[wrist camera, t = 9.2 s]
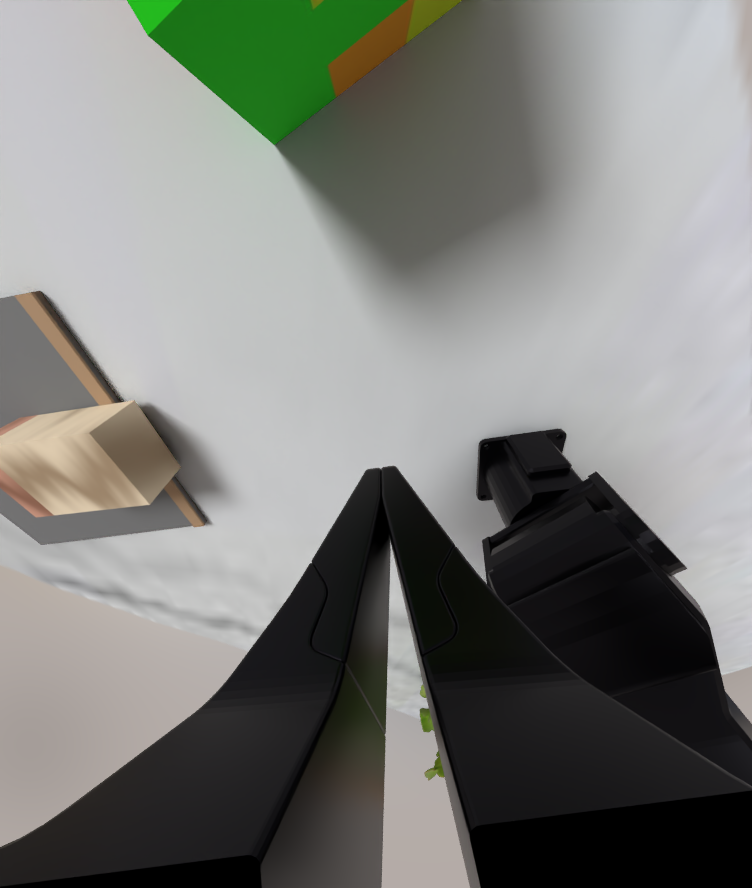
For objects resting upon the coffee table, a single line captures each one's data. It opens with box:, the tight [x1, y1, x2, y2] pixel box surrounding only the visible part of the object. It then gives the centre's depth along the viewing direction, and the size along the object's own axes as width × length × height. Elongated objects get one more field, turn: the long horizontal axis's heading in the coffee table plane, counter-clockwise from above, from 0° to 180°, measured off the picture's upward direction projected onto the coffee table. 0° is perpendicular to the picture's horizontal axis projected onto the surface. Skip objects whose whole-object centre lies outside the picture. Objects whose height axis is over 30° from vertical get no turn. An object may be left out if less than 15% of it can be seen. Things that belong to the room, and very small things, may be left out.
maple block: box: [0, 400, 181, 517], centre depth 21 cm, size 6×4×9 cm
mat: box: [0, 291, 207, 545], centre depth 24 cm, size 20×17×1 cm
